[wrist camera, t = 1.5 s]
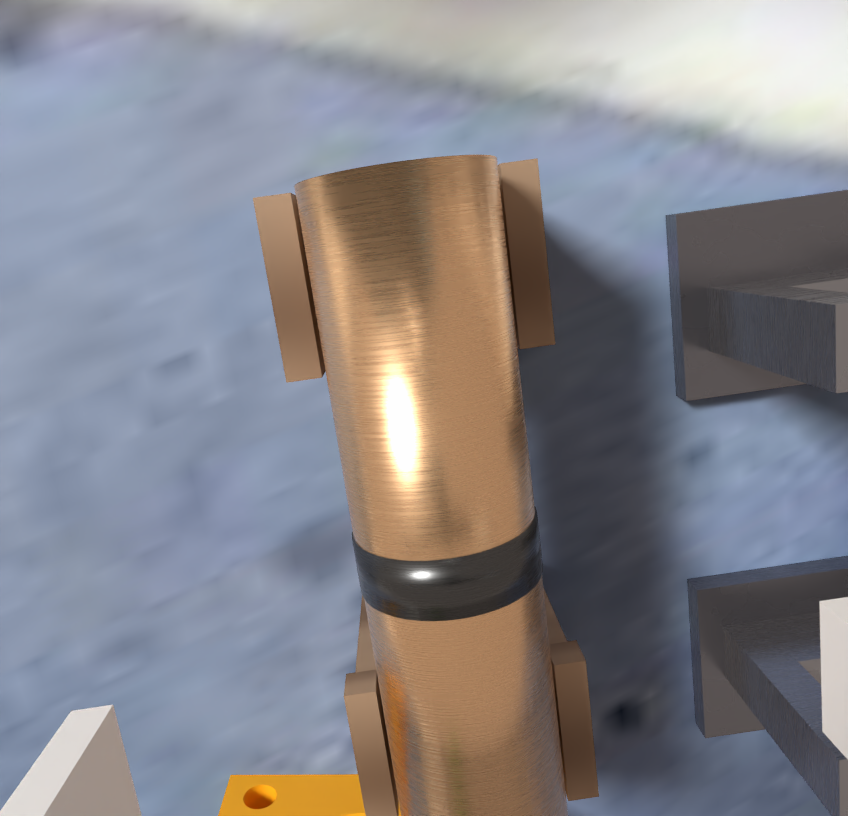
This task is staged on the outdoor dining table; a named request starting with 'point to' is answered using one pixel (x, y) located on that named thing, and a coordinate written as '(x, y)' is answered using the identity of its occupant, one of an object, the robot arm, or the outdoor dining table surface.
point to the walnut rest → (307, 362)
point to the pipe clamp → (293, 796)
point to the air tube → (438, 478)
